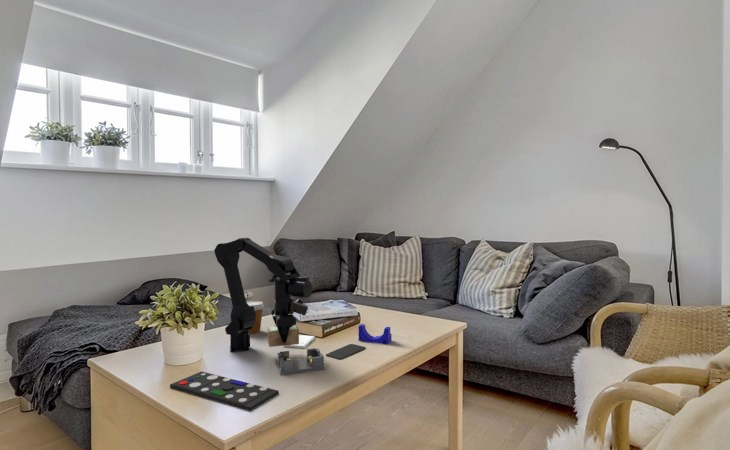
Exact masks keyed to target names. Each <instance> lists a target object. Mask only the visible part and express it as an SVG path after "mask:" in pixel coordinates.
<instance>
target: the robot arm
mask: <svg viewBox="0 0 730 450" xmlns="http://www.w3.org/2000/svg"><path fill="white" fill-rule="evenodd" d="M242 252H245V253H246V254H248V255H249V256H251V257H253V258H254V259H256V260H257V261H259V262H261V263H263V264H264V266H266V268H267V270H268V271H269V272H270V273H271V274H272V276H271V278H269V280H268V281H269V282H270V283H273V284H274V285H273V286H274V288H273V289H274V296H273V301H274V305H273V306H272V307H271V308H270V313H271V316H272V319H273V322H274V324H275V326H277V329H278V331H279V334H280V336H281V339H282V341H283V343H286V341H287V337H288V333H289V329H290V328H291V327H292V326H293V325H297V318H296V316H295V315H294V313H296V314H299V315H301V316H304V317H305V316H306V315H307V312H308V309H309V306H308V305H307V304H305V303H304V302H303V300H302V299H301V298H310V297H311V295H312V293H313V285H312V282H311V280H310V277H308V276H301V275H300V273H299V272H298V270H297V268H296V267H295V265H294V261H293V260H292V259H291V258H288V257H285V256H283V255H279V254H278V255H277V254H275V253H272V252H271V251H270V250H268V249H266V248H265V247H263V246H261V245H260V244H258V243H257V242H255V241H253V240H252V239H251V238H249V237H240V238H237V239H235V240H233V241H230V242H223V243H218V244H217V245H216V246H215V248H214V255H215V259H216V260H217V263H218V264H220V266H221V267H222V269H223V271H224V275H225V280H226V284H227V287H228V293H229V296H230V300H231V304H232V308H231V312H230V323H229V324H227V326H226V327H225V329H224V331H225V335H230V338H229V339H230V340H229V341H230V345H229V350H230V351H229V352H231V353H233V352H243V351H249V350H250V347H251V334H248V331H249V330H252V327H253V325H254V323H255V321H256V319H255V317H256V314H255V311H254V307H253V306H249V305H248V304H247V302H248V301H247V299H246V294H245V291H244V287H243V282H242V279H241V275H240V271H239V266H238V264H239V260H240V253H242ZM292 297H299V298H297V299H296V300H294V299H293V298H292Z"/></svg>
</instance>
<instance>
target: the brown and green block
mask: <svg viewBox="0 0 730 450" xmlns="http://www.w3.org/2000/svg"><path fill="white" fill-rule="evenodd" d="M299 335H300V329H299V327H298V326H297V324H296V325H293V326H292V327H291V328H290V329H289V333H288V337H287V341H286V343H283V341H282V339H281V336H280V334H279V331H278V329H277V326H276V325H275V326H268V327H267V342H268V347H269V348H270V347H271V348H273V347H283V346H285V345H295V344H299Z"/></svg>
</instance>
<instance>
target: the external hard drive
mask: <svg viewBox="0 0 730 450" xmlns="http://www.w3.org/2000/svg"><path fill="white" fill-rule="evenodd" d="M315 339H316V337H315V335H305V334H304V335H303V334H299V344H295V345H285V346H282V347H283V348H289V347H291V348H292V347H294V348H293V349H303V348H304V349H305V348H307V346H309V345H310V344H311V343H312V342H313V341H314V340H315ZM311 341H312V342H311ZM310 342H311V343H310ZM309 343H310V344H309ZM308 344H309V345H308ZM291 348H290V349H291Z"/></svg>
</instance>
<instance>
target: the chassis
mask: <svg viewBox="0 0 730 450" xmlns="http://www.w3.org/2000/svg"><path fill="white" fill-rule="evenodd" d="M276 366H277V369H278V371H279V375H280V376H285V375H293V374H301V373H308V372H317V371H318V372H319V371H325V370H326V366H325V356H324V355H323V353H321V350H320V349H319V348H316V347H313V348H312V347H311V348H307V349H306V357H300V358H292V357H290V351H289V350H286V351H284V350H283V351H279V352H277V360H276Z"/></svg>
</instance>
